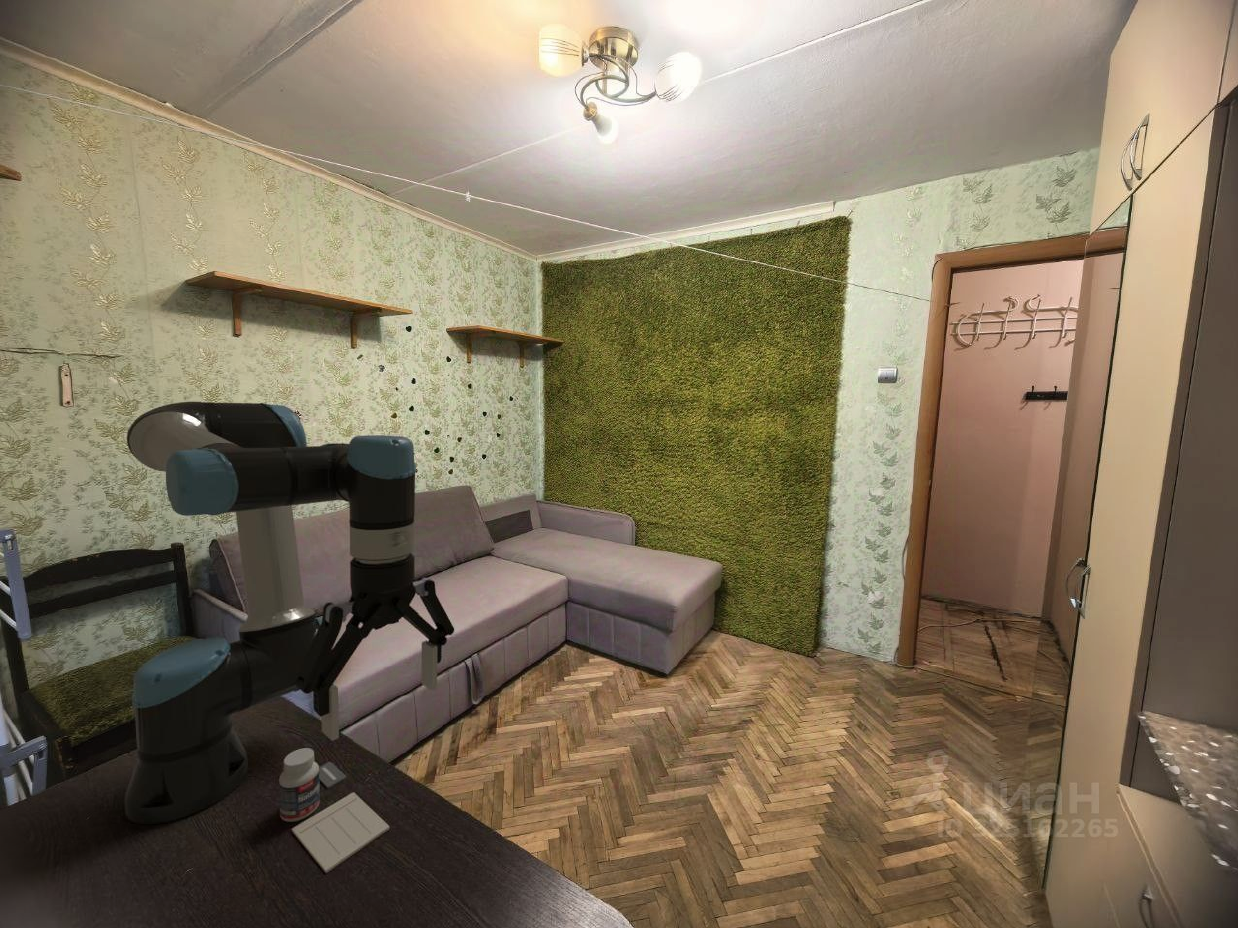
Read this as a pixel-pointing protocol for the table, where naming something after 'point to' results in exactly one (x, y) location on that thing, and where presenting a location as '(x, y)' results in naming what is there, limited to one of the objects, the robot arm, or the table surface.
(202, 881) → the table surface
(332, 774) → the grey striped flat block
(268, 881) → the table surface
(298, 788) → the pill bottle
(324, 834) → the paper
